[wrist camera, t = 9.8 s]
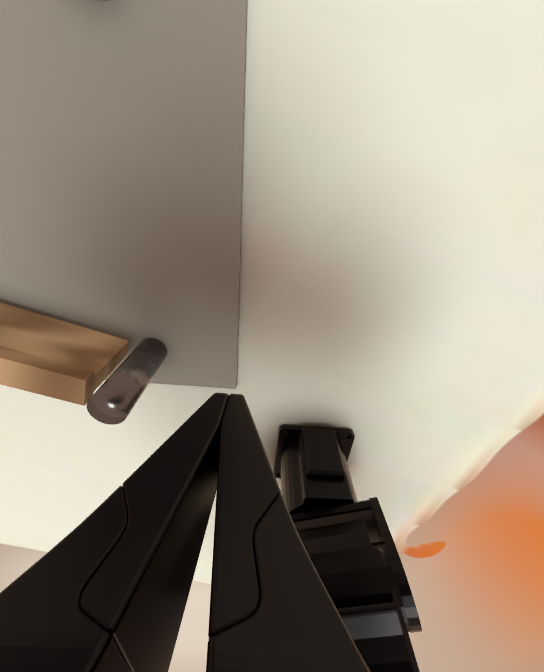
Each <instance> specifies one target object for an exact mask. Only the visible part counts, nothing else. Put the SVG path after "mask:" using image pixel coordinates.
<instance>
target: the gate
mask: <svg viewBox="0 0 544 672" xmlns="http://www.w3.org/2000/svg"><path fill="white" fill-rule="evenodd" d="M128 344H129V341H128V340H125V339H121V338H118V337H115V336H111V335H108V334H105V333H101V332H98V331H94V330H91V329H88V328H84V327H81V326H78V325H74V324H71V323H68V322H64V321H61V320H58V319H54V318H51V317H48V316H44V315H41V314H37V313H34V312H31V311H27V310H24V309H21V308H17V307H14V306H11V305H7V304H4V303H1V302H0V384H1V385H5V386H9V387H13V388H17V389H21V390H25V391H29V392H33V393H37V394H41V395H45V396H49V397H53V398H56V399H60V400H64V401H68V402H72V403H76V404H80V405H85V404H86V403H87V402H88V400H89V399H90V398H91V397H92V396H93V392H94V391H95V390H96V388H97V387H98V386H99V385H100V384H101V383H102V382H103V381H104V380H105V379H106V377H107V376H108V375H109V374H110V373H111V372H112V371H113V370H114V369H115V368H116V366H117V365H118V364H119V363H120V362H121V361H122V360H123V359H124V358H125V357H126V355H127V352H128Z"/></svg>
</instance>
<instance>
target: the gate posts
mask: <svg viewBox="0 0 544 672" xmlns="http://www.w3.org/2000/svg"><path fill="white" fill-rule="evenodd" d="M166 356H167V348H166V346H165V344H164V343H163V342H161V341H160V340H158V339H155V338H146V339H144V340H142V341H141V342H140V343H139V345H138V346H137V347H136V348H135V349H134V350H133V351H132V352H131V353H130V355H129V356H128V357H127V358H126V359H125V360H124V361H123V362H122V363H121V365H120V366H119V367H118V368H117V369H116V370H115V371H114V372H113V373H112V375H111V376H110V377H109V378H108V379H107V380H106V381H105V382H104V384H103V385H102V386H101V387H100V388H99V389H98V390H97V391H96V392H95V394H94V395H93V396H92V397H91V398H90V399H89V400H88V402H87V410H88V412H89V413H90V415H91V416H92V417H93V418H95V419H96V420H98V421H100V422H102V423H105V424H119V423H121V422H123V421H124V420H125V419H126V417H127V416H128V414H129V413H130V411H131V409H132V408H133V406H134V405H135V403H136V402H137V400H138V399H139V397H140V396H141V394H142V393H143V391H144V390H145V388H146V387H147V385H148V384H149V382H150V381H151V379H152V378H153V376H154V375H155V373H156V372H157V370H158V369H159V367H160V365H161V364H162V362H163V361H164V359H165V358H166Z"/></svg>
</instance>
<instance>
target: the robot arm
mask: <svg viewBox="0 0 544 672" xmlns="http://www.w3.org/2000/svg"><path fill="white" fill-rule="evenodd" d="M283 431H286V432H283ZM347 435H348V436H347ZM354 438H355V436H354V433H353V431H352V430H349V429H335V428H319V427H303V426H287V425H284V426H281V427H280V428H279V433H278V440H277V448H276V456H275V463H274V473H273V470H272V468H271V465H270V462H269V460H268V457H267V455H266V452H265V449H264V447H263V444H262V442H261V439H260V436H259V434H258V431H257V429H256V426H255V423H254V421H253V418H252V416H251V413H250V410H249V408H248V405H247V402H246V400H245V397H244V396H243V395H241V394H230V395H228V394H226V393H215V394H213V395H212V396H211V397H210V398H209V399H208V400H207V401H206V402H205V403H204V404H203V405H202V406H201V407H200V408H199V409H198V410H197V411H196V412H195V413H194V414H193V415H192V416H191V417H190V418H189V419H188V420H187V421H186V422H185V423H184V424H183V425H182V426H181V427H180V428H179V429H178V430H177V431H176V432H175V433H174V434H173V435H172V436H171V437H170V438H169V439H167V440H166V441H165V442H164V443H163V444H162V445H161V446H160V447H159V448H158V449H157V450H156V451H155V452H154V453H153V454H152V455H151V456H150V457H149V458H148V459H147V460H146V461H145V462H144V463H143V464H142V465H141V466H140V467H139V468H138V469H137V470H136V471H135V472H134V473H133V474H132V475H131V476H130V477H129V478H128V479H127V480H126V481H125V482H124V483H123V487H122V486H120V487H119V488H118V489H117V490H116V491H115V492H114V493H113V494H112V495H110V496H109V497H108V498H107V499H106V500H105V501H104V502H103V503H102V504H101V505H100V506H99V507H98V508H97V509H96V510H95V511H94V512H93V513H92V514H91V515H90V516H88V517H87V518H86V519H85V520H84V521H83V522H82V523H81V524H80V525H79V526H78V527H77V528H75V529H74V530H73V531H72V532H71V533H70V534H69V535H67V536H66V537H65V538H64V539H63V540H62V541H61V542H59V543H58V544H57V545H56V546H55V547H54V548H53V549H51V550H50V551H49V552H48V553H47V554H46V555H44V556H43V557H42V558H41V559H40V560H39V561H37V562H36V563H35V564H34V565H33V566H31V567H30V568H29V569H28V570H27V571H25V572H24V573H23V574H22V575H21V576H20V577H18V578H17V579H16V580H15V581H14V582H12V583H11V584H10V585H9V586H8V587H7V588H5V589H4V590H3V591H2V592H1V593H0V672H168V669H169V666H170V661H171V658H172V654H173V650H174V647H175V643H176V640H177V636H178V632H179V628H180V625H181V621H182V617H183V613H184V610H185V606H186V602H187V598H188V595H189V591H190V587H191V583H192V580H193V576H194V572H195V569H196V565H197V561H198V557H199V554H200V550H201V546H202V542H203V539H204V535H205V531H206V528H207V524H208V520H209V516H210V513H211V509H212V505H213V501H214V498H215V494H216V490H217V497H216V514H215V531H214V548H213V565H212V582H211V599H210V600H211V601H210V617H209V618H210V619H209V633H208V635H209V641H208V650H207V666H206V672H419V668H418V665H417V662H416V658H415V655H414V651H413V648H412V645H411V642H410V638H409V634H408V632H421V631H422V628H421V624H420V620H419V616H418V613H417V609H416V606H415V602H414V600H413V596H412V593H411V590H410V586H409V583H408V581H407V577H406V575H405V571H404V568H403V566H402V563H401V560H400V557H399V555H398V552H397V549H396V546H395V544H394V541H393V538H392V536H391V533H390V531H389V528H388V525H387V523H386V520H385V517H384V515H383V512H382V509H381V507H380V504H379V501H378V499H377V497H374V498H369V500H366V501H360V502H357V498H356V494H355V491H354V487H353V483H352V480H351V476H350V472H349V469H348V465H347V460H348V457H349V453H350V450H351V447H352V444H353V441H354ZM275 477H276V478H281V491H280V488H279V486H278V483H277V481H276V478H275ZM281 493H282V495H281Z"/></svg>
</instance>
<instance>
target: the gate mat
mask: <svg viewBox="0 0 544 672" xmlns="http://www.w3.org/2000/svg"><path fill="white" fill-rule="evenodd" d="M246 28H247V0H0V302H1V303H4V304H7V305H11V306H14V307H17V308H21V309H24V310H27V311H31V312H34V313H37V314H41V315H44V316H48V317H51V318H54V319H58V320H61V321H64V322H68V323H71V324H74V325H78V326H81V327H84V328H88V329H91V330H94V331H98V332H101V333H105V334H108V335H111V336H115V337H118V338H121V339H125V340H128V341H129V344H128V352H127V355H126V357H125V358H124V359H123V360H122V361H121V362H120V363H119V364H118V365H117V366H116V368H115V369H114V370H113V371H112V372H111V373H110V374H109V375H108V376H107V377H106V379H105V380H107V379H108V378H109V377H110V376H111V375H112V373H113V372H114V371H115V370H116V369H117V368H118V367H119V366H120V365H121V363H122V362H123V361H124V360H125V359H126V358H127V357H128V356H129V355H130V353H131V352H132V351H133V350H134V349H135V348H136V347H137V346H138V345H139V343H140V342H141V341H142V340H144V339H146V338H155V339H158V340H160V341H161V342H163V343H164V344H165V346H166V348H167V356H166V358H165V359H164V361H163V362H162V364H161V365H160V367H159V369H158V370H157V372H156V373H155V375H154V376H153V378H152V379H151V381H150V382H149V383H159V384H173V385H188V386H203V387H218V388H233V389H236V387H237V358H238V321H239V285H240V248H241V211H242V175H243V138H244V101H245V64H246Z"/></svg>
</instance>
